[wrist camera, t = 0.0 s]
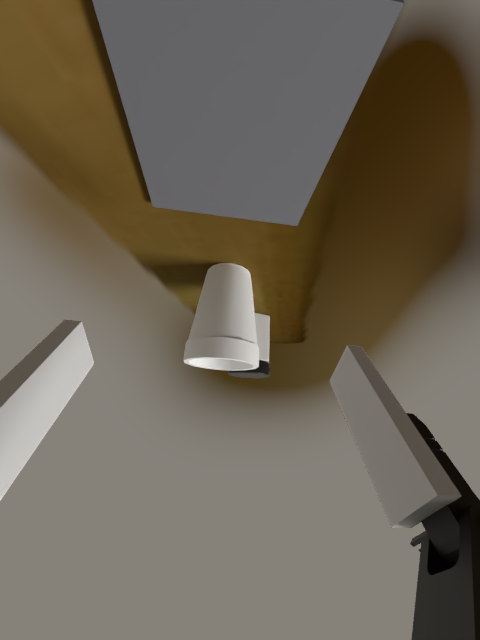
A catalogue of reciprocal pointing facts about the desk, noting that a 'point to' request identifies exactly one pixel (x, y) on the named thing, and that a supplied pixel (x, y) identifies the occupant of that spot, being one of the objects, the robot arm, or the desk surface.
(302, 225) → the desk surface
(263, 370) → the jar
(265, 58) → the charcoal mat
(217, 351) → the foam cup
